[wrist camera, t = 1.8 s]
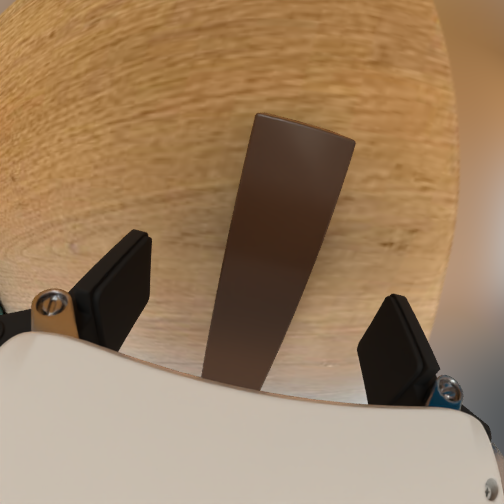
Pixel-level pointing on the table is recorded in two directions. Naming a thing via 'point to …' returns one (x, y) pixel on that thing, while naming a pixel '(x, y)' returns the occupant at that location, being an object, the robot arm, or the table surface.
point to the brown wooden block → (272, 243)
